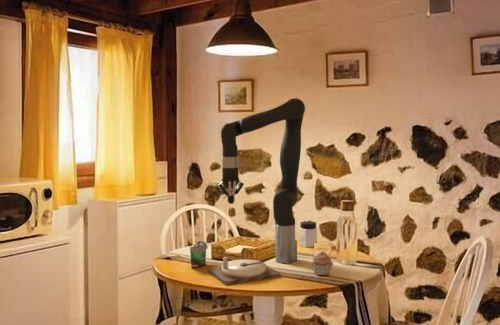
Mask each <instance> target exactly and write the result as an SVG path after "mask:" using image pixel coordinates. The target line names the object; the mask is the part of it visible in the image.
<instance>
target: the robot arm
mask: <svg viewBox="0 0 500 325" xmlns="http://www.w3.org/2000/svg"><path fill="white" fill-rule="evenodd" d="M305 111H306V105H305V102H304V101H303V100H302V99H300V98H296V97H295V98H290V99H288V100H287V101H286V102H284V103H282V104H281V105H277V106H276V107H273V108H271V109H268V110H265V111H261V112H256V113H253V114H251V115H247V116H245V117H243V118H241V119H239V120H236V121H233V122H229V123H228V122H227V123H224V124H223V125H222V127H221V129H220V138H221V144H222V151H221V152H222V161H221V171H222V173H221V175H222V178H221V181H220V183H217V185H216V186H217V187H218V189H219V190H220V191H221V192H222V194H224V195H226V196H227V203H228V204H229V205H232V204H234V203H235V196H236V195H237V194H239V193H240V191H241V189H243V187H244V182H242V181H240V178H239V176H240V175H239V174H240V173H239V172H240V171H239V157H238V155H239V153H238V150H239V149H238V145H237V137H239V136H241V135H243V134H246V133H251V132H255V131H257V130H260V129H262V128H266V127H267V126H270V125H272V124H275V123H278V122H281V121H285V124H284V125H285V126H284V133H283V136H282V139H281V145H280V151H279V152H280V153H279V154H280V155H279V166H280V172H281V186H280V190H279V191H278V192H276V193H275V194H274V195H273V200H272V209H273V219H274V226H275V227H274V230H275V231H274V232H275V233H274V236H275V237H274V238H275V241H274V242H275V247H274V248H275V256H274V257H275V261H276V262H277V263H280V264H291V263H294V262H297V261H298V241H297V240H296V219H295V217H294V212H293V210H294V209H293V208H294V207H295V205H296V204H297V201H298V175H299V168H300V161H301V155H302V154H301V151H302V125H303V119H304V115H305ZM224 187H225V188H224Z"/></svg>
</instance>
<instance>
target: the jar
mask: <svg viewBox="0 0 500 325" xmlns="http://www.w3.org/2000/svg"><path fill="white" fill-rule="evenodd" d="M299 227H300V228H299V246H300V247H303V248H314V247H313V246H314V243H317V244H318V227H317V222H316V221H311V220H308V221H307V220H306V221H301V222H300V226H299Z"/></svg>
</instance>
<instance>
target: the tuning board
mask: <svg viewBox="0 0 500 325" xmlns="http://www.w3.org/2000/svg"><path fill="white" fill-rule="evenodd" d="M207 270H208V271H207V272H208V274H210V275H211V276H212V277H213V278H215V279H216V278H217V279H216V280H218V282H220V281H221V284H223V285H224V286H229V285H235V284H241V283H249V282H255V281H263V280H268V279H275V278H281V277H282V274H281V272H279V271H278V270H276V269H273V268H272V267H270V266H268V265H267V264H266V272H265V273H264V274H262V275H259V276H255V277H246V278H239V277H230V276H227V275H224V274H223V273H222V266H219V267H213V268H208V269H207Z"/></svg>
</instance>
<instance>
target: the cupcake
mask: <svg viewBox="0 0 500 325" xmlns="http://www.w3.org/2000/svg"><path fill="white" fill-rule="evenodd" d="M310 264H311V266H312V269H313V272H314V275H315V274H317V275H316V276H318V275H328V276H330V273H331V270H332V267H333V265H334V263H333V262H332V260H331V257H330V256H329V254H327V253H326V252H324V251H322V250H321V251H320V252H319V253H318V254H316V255H315V256H314V258H313V260H312V261H311V263H310Z"/></svg>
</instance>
